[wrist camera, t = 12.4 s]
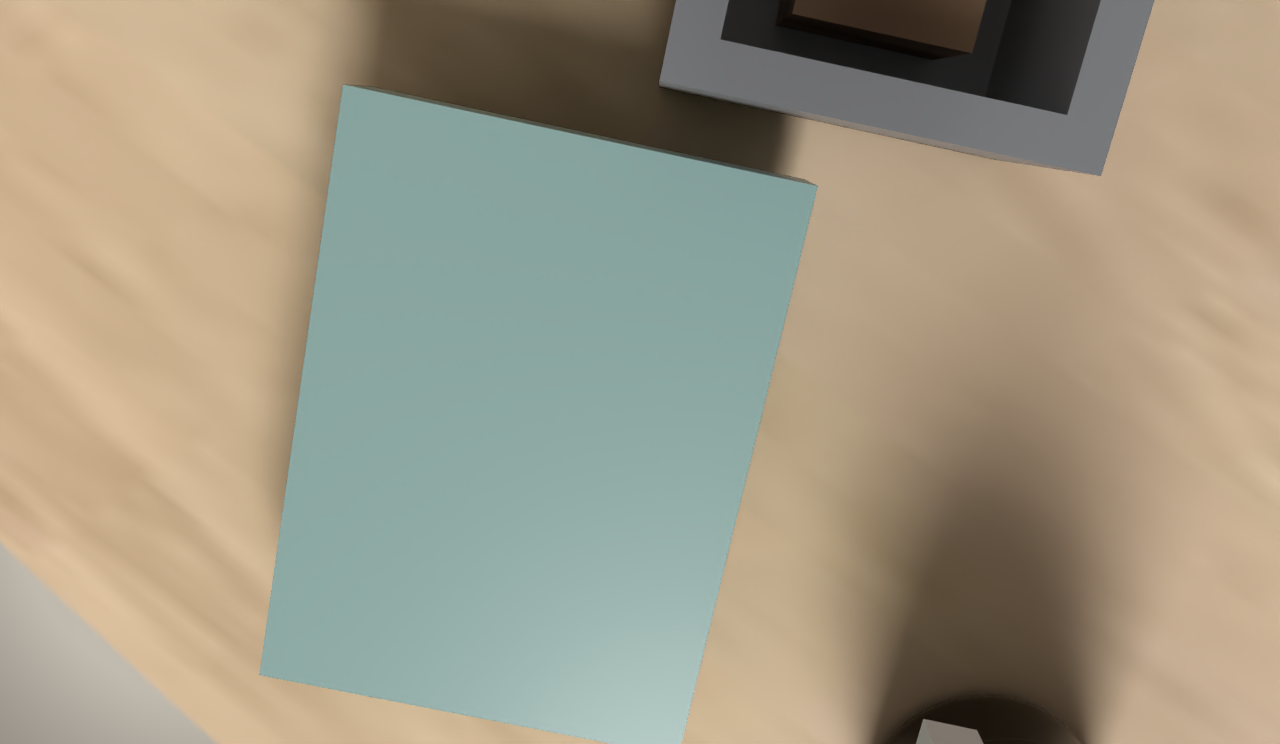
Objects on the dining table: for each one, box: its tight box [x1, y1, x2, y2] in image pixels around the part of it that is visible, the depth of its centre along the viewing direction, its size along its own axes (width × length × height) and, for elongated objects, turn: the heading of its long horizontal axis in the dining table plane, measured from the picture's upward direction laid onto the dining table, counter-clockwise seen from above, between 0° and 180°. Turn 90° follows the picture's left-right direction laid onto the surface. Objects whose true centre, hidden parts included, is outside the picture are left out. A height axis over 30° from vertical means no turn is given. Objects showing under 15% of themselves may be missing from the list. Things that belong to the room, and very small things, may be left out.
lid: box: [260, 84, 818, 744], centre depth 29 cm, size 11×15×4 cm
